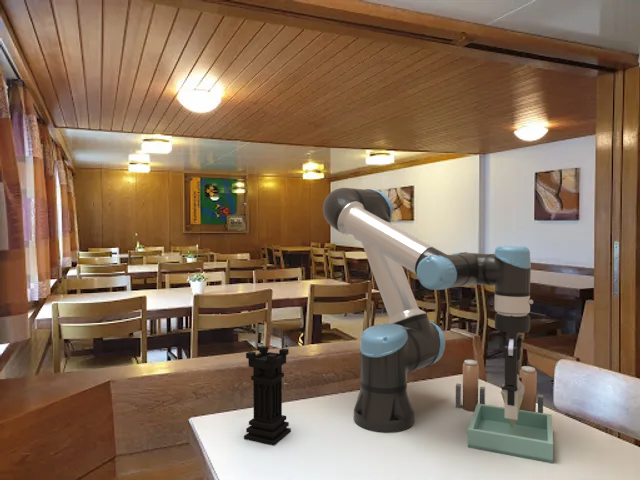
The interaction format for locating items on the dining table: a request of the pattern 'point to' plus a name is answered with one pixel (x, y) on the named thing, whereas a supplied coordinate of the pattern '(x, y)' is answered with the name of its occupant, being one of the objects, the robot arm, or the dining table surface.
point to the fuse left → (470, 385)
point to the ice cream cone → (520, 397)
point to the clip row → (482, 398)
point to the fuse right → (528, 388)
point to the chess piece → (267, 397)
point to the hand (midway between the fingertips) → (511, 413)
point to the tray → (512, 433)
